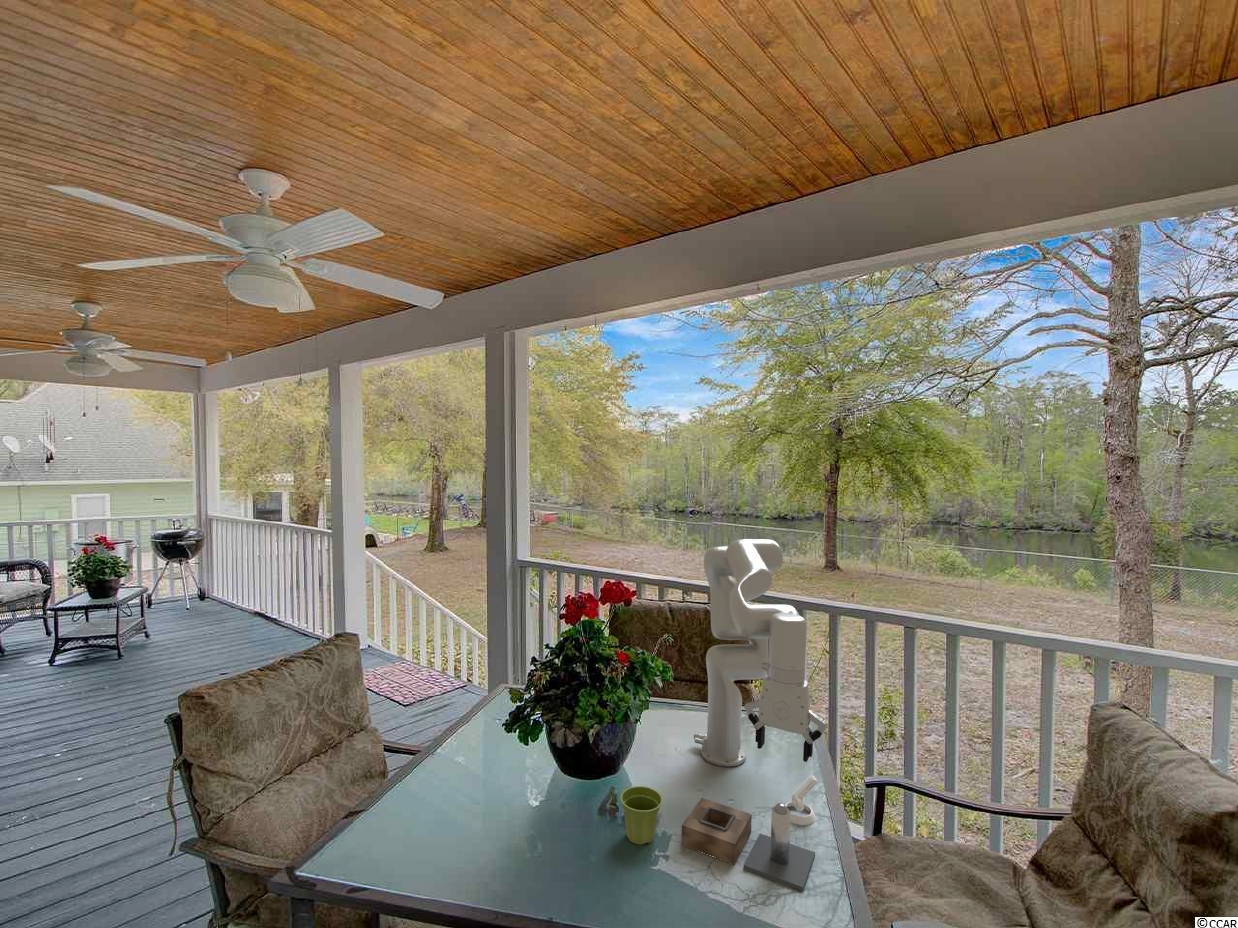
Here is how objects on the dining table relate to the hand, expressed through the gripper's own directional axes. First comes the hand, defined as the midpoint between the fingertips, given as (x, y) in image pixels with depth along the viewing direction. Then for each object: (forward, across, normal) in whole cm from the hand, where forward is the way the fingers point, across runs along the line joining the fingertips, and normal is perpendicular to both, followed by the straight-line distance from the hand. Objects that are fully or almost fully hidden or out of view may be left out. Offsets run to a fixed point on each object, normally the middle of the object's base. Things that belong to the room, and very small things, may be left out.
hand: (783, 752), depth 125 cm
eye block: (+23, -13, -2) cm, 26 cm away
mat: (+23, +1, -2) cm, 23 cm away
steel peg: (+22, 0, -2) cm, 22 cm away
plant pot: (+23, -28, -10) cm, 38 cm away
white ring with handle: (+23, 0, +17) cm, 29 cm away
